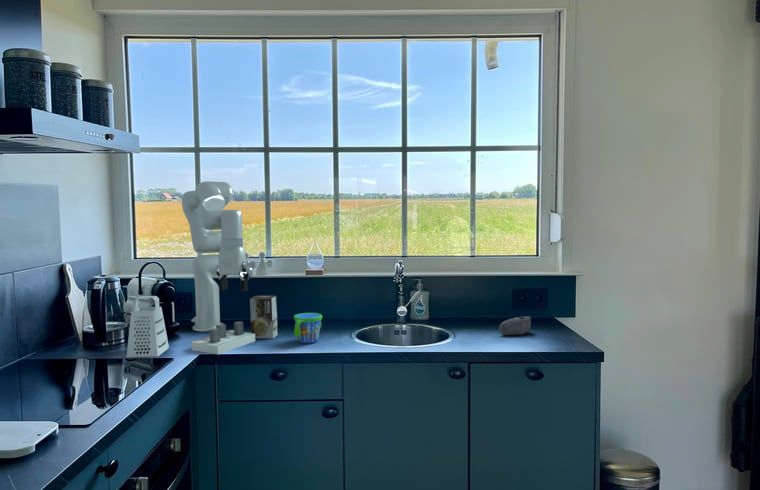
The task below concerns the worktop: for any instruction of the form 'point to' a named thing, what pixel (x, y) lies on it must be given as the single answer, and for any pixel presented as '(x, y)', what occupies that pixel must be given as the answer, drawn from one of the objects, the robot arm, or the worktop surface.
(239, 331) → the gray rectangular block
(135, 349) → the grater
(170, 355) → the worktop surface
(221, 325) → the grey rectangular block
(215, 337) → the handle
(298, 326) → the snack cup
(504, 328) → the perforated stone tool
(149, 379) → the worktop surface
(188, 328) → the worktop surface
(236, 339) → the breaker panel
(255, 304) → the coffee box
